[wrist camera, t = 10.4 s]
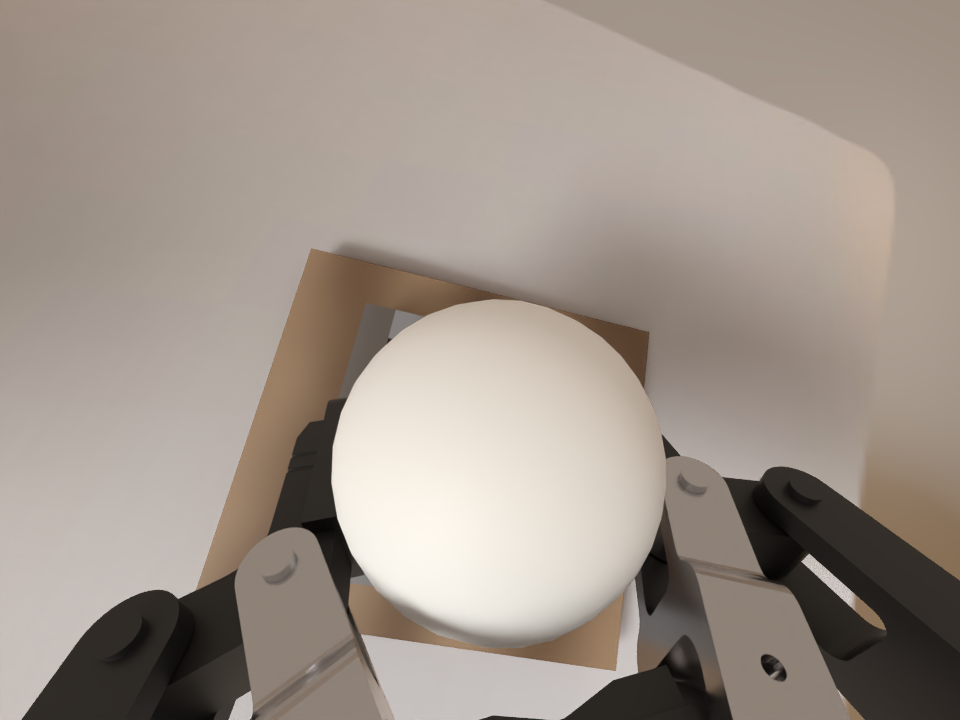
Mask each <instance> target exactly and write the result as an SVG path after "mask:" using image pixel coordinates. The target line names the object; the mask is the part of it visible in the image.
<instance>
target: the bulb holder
mask: <svg viewBox="0 0 960 720" xmlns="http://www.w3.org/2000/svg"><path fill="white" fill-rule="evenodd" d="M491 299H498V300H517V299H513V298H509V297H505V296H501V295H497V294H493V293H489V292H485V291H481V290H477V289H473V288H469V287H465V286H461V285H457V284H453V283H449V282H445V281H441V280H436V279H432V278H428V277H424V276H420V275H416V274H412V273H408V272H404V271H400V270H396V269H392V268H388V267H384V266H380V265H376V264H372V263H368V262H364V261H360V260H356V259H352V258H348V257H344V256H340V255H336V254H332V253H328V252H324V251H320V250H316V249H312V248H311V251H310V254H309V257H308V260H307V263H306V266H305V269H304V272H303V275H302V278H301V281H300V284H299V287H298V289H297V292H296V295H295V298H294V301H293V304H292V307H291V310H290V313H289V316H288V319H287V322H286V325H285V328H284V331H283V334H282V337H281V340H280V343H279V346H278V349H277V352H276V355H275V358H274V361H273V364H272V367H271V369H270V372H269V375H268V378H267V381H266V384H265V387H264V390H263V393H262V396H261V399H260V402H259V405H258V408H257V411H256V414H255V417H254V420H253V423H252V426H251V429H250V432H249V435H248V438H247V441H246V444H245V447H244V449H243V452H242V455H241V458H240V461H239V464H238V467H237V470H236V473H235V476H234V479H233V482H232V485H231V488H230V491H229V494H228V497H227V500H226V503H225V506H224V509H223V512H222V515H221V518H220V521H219V524H218V527H217V530H216V532H215V535H214V538H213V541H212V544H211V547H210V550H209V553H208V556H207V559H206V562H205V565H204V568H203V571H202V574H201V577H200V580H199V583H198V586H197V589H196V590H198V589H200V588H202V587H204V586H206V585H208V584H210V583H213V582H215V581H217V580H219V579H221V578H223V577H225V576H226V575H228V574H230V573H232V572H233V571H235V570H236V569H238V568H239V566H240V564H241V562H242V561H243V559H244V558H245V556H246V555H247V554H248V552H249V551H250V550H251V549H252V548H253V547H254V546H255V545H256V544H257V543H259V542H260V541H261V540H262V539H264V538H265V537H267V535H268V532H269V530H270V526H271V523H272V520H273V516H274V513H275V510H276V506H277V503H278V500H279V496H280V493H281V489H282V486H283V483H284V479H285V476H286V473H288V466H289V463H290V459H291V458H292V452H293V449H294V446H295V442H296V439H297V437H298V436H299V435H300V433H301V432H302V431H303V430H304V428H305V427H306V426H307V425H308V423H309V422H313V421H320V420H324V416H325V412H326V408H327V403H328V401H329V400H333V399H340V398H348V397H349V394H350V392H351V390H352V388H353V386H354V384H355V382H356V380H357V379H358V378H359V376H360V375H361V373H362V372H363V371H364V369H365V368H366V367H367V365H368V364H369V363H370V361H371V360H372V359H373V357H374V356H375V355H376V354H377V353H378V352H379V351H380V350H381V349H382V348H383V347H384V346H385V345H387V344H388V343H389V342H390V341H391V340H392V339H393V338H394V337H395V336H396V335H398V334H399V333H400V332H401V331H402V330H404V329H405V328H407V327H409V326H410V325H412V324H414V323H415V322H417V321H419V320H420V319H422V318H424V317H425V316H427V315H429V314H432V313H435V312H437V311H440V310H443V309H446V308H449V307H452V306H454V305H458V304H464V303H470V302H477V301H484V300H491ZM517 301H521V300H517ZM524 302H525V301H524ZM528 303H529V302H528ZM532 304H533V303H532ZM536 305H537V304H536ZM540 306H541V305H540ZM544 307H545V306H544ZM548 308H549V307H548ZM550 309H552V310H554V311H557V312H559V313H561V314H563V315H566V316H568V317H570V318H572V319H574V320H576V321H578V322H580V323H581V324H583V325H584V326H586V327H587V328H589V329H590V330H592V331H593V332H595V333H596V334H598V335H599V336H600V337H602V338H603V339H604V340H605V341H606V342H607V343H608V344H609V345H610V346H611V347H612V348H613V349H614V350H615V351H617V352H618V353H619V354H620V355H621V356H622V358H623V359H624V360H625V362H626V363H627V364H628V366H629V367H630V368H631V370H632V371H633V372H634V374H635V375H636V376H637V378H638V379H639V381H640V383H641V385H642V387H643V389H644V380H645V370H646V360H647V350H648V340H649V332H646V331H642V330H638V329H634V328H630V327H626V326H622V325H618V324H614V323H610V322H606V321H602V320H598V319H594V318H590V317H586V316H582V315H577V314H573V313H569V312H565V311H561V310H557V309H553V308H550ZM623 593H624V592H623ZM623 593H622V594H621V595H620V597H619V598H618V599H617V600H616V601H614V602H613V603H612V604H611V605H610V606H608V607H607V608H606V609H605V610H603V611H602V612H601V613H600V614H598V615H597V616H596V617H595V618H593V619H592V620H591V621H589V622H588V623H586V624H585V625H583V626H581V627H579V628H577V629H575V630H573V631H571V632H569V633H567V634H565V635H563V636H561V637H559V638H557V639H555V640H553V641H549V642H544V643H540V644H535V645H531V646H526V647H522V648H485V647H480V646H476V645H472V644H468V643H465V642H461V641H457V640H454V639H450V638H447V637H443V636H439V635H436V634H435V633H433V632H431V631H429V630H427V629H426V628H424V627H422V626H420V625H418V624H417V623H415V622H413V621H411V620H410V619H408V618H406V617H404V616H403V615H402V614H401V613H400V612H399V611H398V610H397V609H396V608H395V607H394V606H392V605H391V604H390V603H389V602H388V601H387V600H386V599H385V598H384V597H383V596H382V595H381V594H380V593H378V592H377V591H376V589H375V588H374V586H373V585H372V584H371V582H370V581H369V579H368V578H367V576H366V575H365V573H364V575H362V576H358V577H353V578H351V580H350V592H349V603H348V604H349V606H350V608H351V611H352V614H353V616H354V619H355V621H356V624H357V626H358V629H359V632H360V634H364V635H371V636H378V637H385V638H392V639H399V640H406V641H412V642H419V643H426V644H433V645H440V646H447V647H454V648H461V649H468V650H475V651H481V652H488V653H495V654H502V655H509V656H516V657H523V658H530V659H537V660H544V661H550V662H557V663H564V664H571V665H578V666H585V667H592V668H599V669H606V670H613V671H616V664H617V654H618V643H619V633H620V623H621V613H622V603H623Z"/></svg>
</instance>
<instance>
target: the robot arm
mask: <svg viewBox="0 0 960 720" xmlns="http://www.w3.org/2000/svg"><path fill="white" fill-rule="evenodd" d="M347 399H348V398H340V399H333V400H329V401H328V403H327V408H326V412H325V416H324V420H320V421H313V422H309V423H308V425H307V426H306V427H305V428H304V430H303V431H302V432H301V433H300V435H299V436H298V437H297V439H296V442H295V446H294V449H293V452H292V458H291V459H290V463H289V466H288V473H286V476H285V479H284V483H283V486H282V489H281V493H280V496H279V500H278V503H277V506H276V510H275V513H274V516H273V520H272V523H271V526H270V530H269V532H268V535H267V537H265V538H264V539H262V540H261V541H260V542H259V543H257V544H256V545H255V546H254V547H253V548H252V549H251V550H250V551H249V552H248V554H247V555H246V556H245V558H244V559H243V561H242V562H241V564H240V566H239V568H238V569H236V570H235V571H233V572H232V573H230V574H228V575H226V576H225V577H223V578H221V579H219V580H217V581H215V582H213V583H210V584H208V585H206V586H204V587H202V588H200V589H198V590H196V591H194V592H192V593H190V594H188V595H186V596H184V597H182V598H180V599H177V598H176V597H175V596H174V595H173V594H171V593H170V592H168V591H164V590H152V591H147V592H143V593H140V594H137V595H135V596H133V597H130V598H129V599H127V600H125V601H123V602H121V603H120V604H118V605H117V606H115V607H114V608H112V609H111V610H109V611H108V612H107V613H106V614H104V615H103V616H102V617H101V618H100V619H99V620H97V621H96V622H95V623H94V624H93V625H92V626H91V627H90V628H89V629H88V630H87V631H86V633H85V634H84V635H83V636H82V638H81V639H80V640H79V641H78V643H77V644H76V645H75V647H74V648H73V650H72V651H71V652H70V654H69V655H68V656H67V658H66V659H65V661H64V662H63V663H62V665H61V666H60V667H59V669H58V670H57V672H56V673H55V674H54V676H53V677H52V678H51V680H50V681H49V683H48V684H47V685H46V687H45V688H44V689H43V691H42V692H41V694H40V695H39V696H38V698H37V699H36V700H35V702H34V703H33V705H32V706H31V707H30V709H29V710H28V711H27V713H26V714H25V716H24V717H23V718H22V720H228V719H229V717H230V714H231V711H232V709H233V706H234V703H235V701H236V699H238V698H239V697H241V696H243V695H244V694H246V693H247V692H249V691H251V694H252V700H253V714H252V718H251V719H250V720H395V718H394V716H393V714H392V711H391V709H390V707H389V704H388V702H387V700H386V697H385V695H384V693H383V690H382V688H381V685H380V683H379V680H378V678H377V675H376V672H375V670H374V667H373V665H372V662H371V660H370V657H369V655H368V652H367V649H366V647H365V644H364V642H363V639H362V637H361V634H360V632H359V629H358V626H357V624H356V621H355V619H354V616H353V614H352V611H351V608H350V606H349V604H348V603H349V592H350V580H351V578H353V577H358V576H362V575H364V572H363V570H362V569H361V567H360V566H359V564H358V563H357V561H356V560H355V558H354V557H353V556H352V554H351V552H350V549H349V547H348V544H347V542H346V539H345V537H344V534H343V532H342V529H341V527H340V524H339V522H338V519H337V513H336V507H335V501H334V495H333V489H332V483H331V481H332V454H333V444H334V440H335V435H336V431H337V427H338V423H339V419H340V415H341V412H342V409H343V407H344V405H345V403H346V401H347ZM662 440H663V446H664V451H665V457H666V491H665V498H664V505H663V512H662V518H661V521H660V524H659V527H658V530H657V534H656V537H655V540H654V543H653V546H652V548H651V550H650V552H649V554H648V556H647V558H646V560H645V561H644V563H643V565H642V567H641V569H640V571H639V573H638V574H637V576H636V577H635V581H636V590H637V598H638V607H639V617H640V627H639V635H638V642H637V664H638V673H637V674H634V675H630V676H627V677H623V678H620V679H616V680H613V681H612V682H611V683H609V684H608V685H607V686H605V687H604V688H603V689H602V690H600V691H599V692H598V693H597V694H595V695H594V696H593V697H591V698H590V699H589V700H588V701H586V702H585V703H584V704H583V705H581V706H580V707H579V708H577V709H576V710H575V711H574V712H572V713H571V714H570V715H569V716H567V717H566V718H564V719H561V720H851V719H850V717H849V715H848V713H847V710H846V708H845V706H844V704H843V701H842V699H841V697H840V695H839V692H840V693H841V694H842V695H843V696H844V697H845V698H846V699H847V700H848V701H849V702H850V704H851V705H852V706H853V707H854V708H855V709H856V710H857V711H858V712H859V714H861V716H862V717H863V718H864V719H865V720H960V581H959V580H958V579H957V578H955V577H954V576H952V575H951V574H950V573H948V572H947V571H945V570H944V569H943V568H941V567H940V566H939V565H937V564H936V563H934V562H933V561H932V560H930V559H928V558H927V557H926V556H925V555H923V554H922V553H920V552H919V551H918V550H916V549H915V548H914V547H912V546H911V545H909V544H908V543H906V542H905V541H904V540H902V539H901V538H900V537H898V536H897V535H895V534H894V533H893V532H891V531H890V530H888V529H887V528H886V527H884V526H883V525H881V524H880V523H879V522H877V521H876V520H874V519H873V518H872V517H870V516H869V515H868V514H866V513H865V512H864V511H862V510H861V509H859V508H858V507H857V506H855V505H854V504H852V503H851V502H850V501H848V500H847V499H845V498H844V497H843V496H841V495H840V494H839V493H837V492H836V491H834V490H833V489H832V488H830V487H829V486H827V485H826V484H825V483H823V482H822V481H820V480H819V479H817V478H815V477H813V476H812V475H810V474H807V473H805V472H803V471H800V470H797V469H793V468H789V467H773V468H770V469H768V470H767V471H766V472H765V473H764V475H763V476H762V478H761V479H760V481H752V480H743V479H734V478H725V477H721V476H720V475H719V473H717V472H716V471H715V470H714V469H713V468H711V467H710V466H708V465H706V464H705V463H703V462H701V461H698V460H696V459H693V458H689V457H683V456H680V455H679V454H678V452H677V451H676V450H675V449H674V448H673V447H672V445H671V444H670V443H669V442H668V441H667V440H666V438H665V437H664V436H663V435H662ZM808 554H810V555H812V556H813V557H814V558H815V559H816V560H817V561H818V562H819V563H821V564H822V565H823V566H824V567H825V568H826V569H827V570H829V571H830V572H831V573H832V574H833V575H834V576H835V577H836V578H838V579H839V580H840V581H841V582H842V583H843V584H844V585H845V586H847V587H848V588H849V589H850V590H851V591H852V592H853V593H854V594H856V595H857V596H858V597H859V598H860V599H861V600H862V601H864V602H865V603H866V604H867V605H868V606H869V607H870V608H871V609H872V610H873V611H875V613H876V614H877V615H878V616H879V617H880V619H881V620H882V622H883V623H884V625H885V628H886V630H882V629H879V628H877V627H875V626H873V625H871V624H869V623H868V622H867V621H865V620H864V619H863V618H862V617H861V616H860V615H859V614H858V613H856V612H855V611H854V610H853V609H852V608H851V607H850V606H849V605H848V604H847V603H846V602H844V601H843V600H842V599H841V598H840V597H839V596H838V595H837V594H836V593H835V592H834V591H833V590H831V589H830V588H829V587H828V586H827V585H826V584H825V583H824V582H823V581H822V580H821V579H819V578H818V577H817V576H816V575H815V574H814V573H813V572H812V571H811V570H810V569H809V568H807V567H806V566H805V565H804V564H803V563H802V562H801V561H802V560H803V559H804V558H805V557H806V556H807V555H808ZM837 689H838V690H839V692H838V690H837ZM480 720H543V719H530V718H517V717H504V716H490V717H487V718H483V719H480Z"/></svg>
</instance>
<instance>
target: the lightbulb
mask: <svg viewBox="0 0 960 720" xmlns="http://www.w3.org/2000/svg"><path fill="white" fill-rule="evenodd" d="M331 483H332V489H333V495H334V501H335V507H336V513H337V519H338V522H339V524H340V527H341V529H342V532H343V534H344V537H345V539H346V542H347V544H348V547H349V549H350V552H351V554H352V556H353V557H354V558H355V560H356V561H357V563H358V564H359V566H360V567H361V569H362V570H363V572H364V573H365V575H366V576H367V578H368V579H369V581H370V582H371V584H372V585H373V586H374V588H375V589H376V591H377V592H378V593H380V594H381V595H382V596H383V597H384V598H385V599H386V600H387V601H388V602H389V603H390V604H391V605H392V606H394V607H395V608H396V609H397V610H398V611H399V612H400V613H401V614H402V615H403V616H404V617H406V618H408V619H410V620H411V621H413V622H415V623H417V624H418V625H420V626H422V627H424V628H426V629H427V630H429V631H431V632H433V633H435V634H436V635H439V636H443V637H447V638H450V639H454V640H457V641H461V642H465V643H468V644H472V645H476V646H480V647H485V648H522V647H526V646H531V645H535V644H540V643H544V642H549V641H553V640H555V639H557V638H559V637H561V636H563V635H565V634H567V633H569V632H571V631H573V630H575V629H577V628H579V627H581V626H583V625H585V624H586V623H588V622H589V621H591V620H592V619H593V618H595V617H596V616H597V615H598V614H600V613H601V612H602V611H603V610H605V609H606V608H607V607H608V606H610V605H611V604H612V603H613V602H614V601H616V600H617V599H618V598H619V597H620V595H621V594H622V593H623V592H624V590H625V589H626V588H627V587H628V586H629V584H630V583H631V582H632V581H633V579H634V578H635V577H636V576H637V574H638V573H639V571H640V569H641V567H642V565H643V563H644V561H645V560H646V558H647V556H648V554H649V552H650V550H651V548H652V546H653V543H654V540H655V537H656V534H657V530H658V527H659V524H660V521H661V518H662V512H663V505H664V498H665V491H666V457H665V451H664V446H663V440H662V434H661V430H660V427H659V424H658V421H657V418H656V416H655V413H654V410H653V407H652V404H651V402H650V400H649V398H648V396H647V395H646V393H645V391H644V389H643V387H642V385H641V383H640V381H639V379H638V378H637V376H636V375H635V374H634V372H633V371H632V370H631V368H630V367H629V366H628V364H627V363H626V362H625V360H624V359H623V358H622V356H621V355H620V354H619V353H618V352H617V351H615V350H614V349H613V348H612V347H611V346H610V345H609V344H608V343H607V342H606V341H605V340H604V339H603V338H602V337H600V336H599V335H598V334H596V333H595V332H593V331H592V330H590V329H589V328H587V327H586V326H584V325H583V324H581V323H580V322H578V321H576V320H574V319H572V318H570V317H568V316H566V315H563V314H561V313H559V312H557V311H554V310H552V309H550V308H548V307H544V306H540V305H536V304H532V303H528V302H524V301H517V300H498V299H491V300H484V301H477V302H470V303H464V304H458V305H454V306H452V307H449V308H446V309H443V310H440V311H437V312H435V313H432V314H429V315H427V316H425V317H424V318H422V319H420V320H419V321H417V322H415V323H414V324H412V325H410V326H409V327H407V328H405V329H404V330H402V331H401V332H400V333H399V334H398V335H396V336H395V337H394V338H393V339H392V340H391V341H390V342H389V343H388V344H387V345H385V346H384V347H383V348H382V349H381V350H380V351H379V352H378V353H377V354H376V355H375V356H374V357H373V359H372V360H371V361H370V363H369V364H368V365H367V367H366V368H365V369H364V371H363V372H362V373H361V375H360V376H359V378H358V379H357V380H356V382H355V384H354V386H353V388H352V390H351V392H350V394H349V397H348V399H347V401H346V403H345V405H344V407H343V409H342V412H341V415H340V419H339V423H338V427H337V431H336V435H335V440H334V444H333V454H332V481H331Z"/></svg>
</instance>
